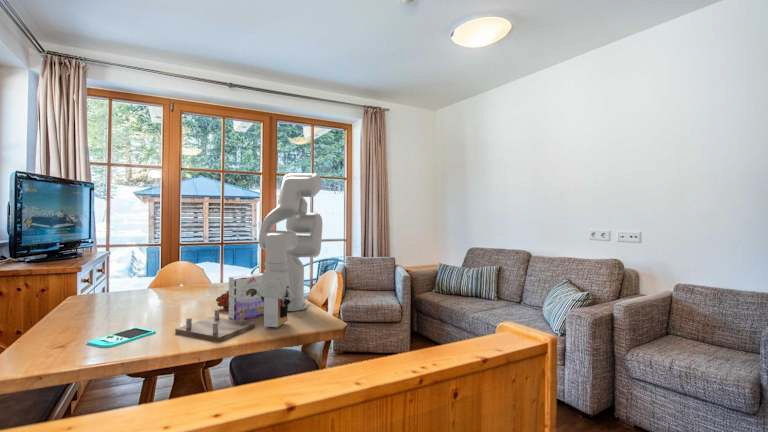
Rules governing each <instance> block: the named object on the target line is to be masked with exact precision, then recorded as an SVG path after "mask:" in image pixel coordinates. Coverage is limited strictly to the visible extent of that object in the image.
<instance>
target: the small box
mask: <svg viewBox="0 0 768 432" xmlns="http://www.w3.org/2000/svg"><path fill="white" fill-rule="evenodd" d="M287 298H288V297H287ZM284 302H285V301H284ZM281 307H282V304H281V300H279V298H273V297H265V298H264V315H263V326H264V327H269V328H270V327H271V328H279V327H280V326H282V325H283V324H285V323H287V322H288V314H289V312H288V313H287V316H285V317H283V318H281V317H280V313H281Z"/></svg>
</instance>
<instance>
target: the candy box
mask: <svg viewBox="0 0 768 432" xmlns="http://www.w3.org/2000/svg"><path fill="white" fill-rule="evenodd" d="M262 276H263V273H262V272H261V273H260V272H259V273H253V274H252V273H251V274H244V275H242V274H241V275H236V276H234V275H233V276H229V277H228V291H229V309H228V319H231V320H237V321H240V314H241V313H244V314H245V316H244V320H247V319H251V318H256V317H260V316H261V317H262V316H264V303H263V300H262V299H261V297H260V295H259V294H258V292H259V291H260V290H261V283H262Z"/></svg>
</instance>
